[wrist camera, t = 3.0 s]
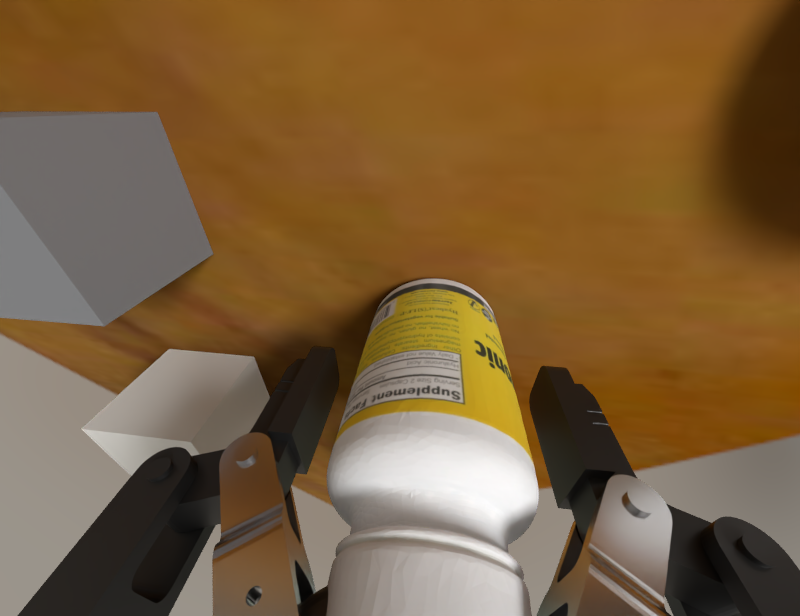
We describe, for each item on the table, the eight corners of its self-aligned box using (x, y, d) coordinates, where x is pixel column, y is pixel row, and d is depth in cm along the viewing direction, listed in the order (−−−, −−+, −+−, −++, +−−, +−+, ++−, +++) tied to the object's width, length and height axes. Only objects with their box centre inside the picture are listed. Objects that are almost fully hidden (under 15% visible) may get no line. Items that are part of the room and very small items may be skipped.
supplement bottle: (499, 364, 14) (573, 706, 6) (390, 372, 15) (333, 666, 7) (493, 263, 11) (618, 664, 3) (359, 283, 12) (209, 609, 4)
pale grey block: (170, 348, 16) (80, 428, 12) (254, 355, 16) (190, 441, 12) (204, 404, 19) (140, 485, 15) (276, 412, 19) (231, 497, 15)
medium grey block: (26, 111, 10) (-252, 118, 6) (159, 112, 10) (-48, 119, 6) (109, 247, 13) (-44, 313, 9) (214, 253, 13) (104, 326, 8)
